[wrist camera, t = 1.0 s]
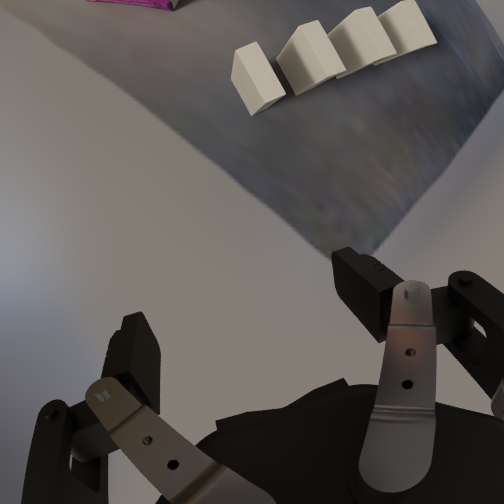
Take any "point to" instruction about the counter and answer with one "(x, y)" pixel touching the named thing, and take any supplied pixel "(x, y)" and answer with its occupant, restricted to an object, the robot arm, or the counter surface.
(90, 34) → the counter surface
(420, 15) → the domino
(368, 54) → the domino
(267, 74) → the domino
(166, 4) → the candy bar box
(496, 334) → the robot arm
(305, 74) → the domino
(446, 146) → the counter surface
